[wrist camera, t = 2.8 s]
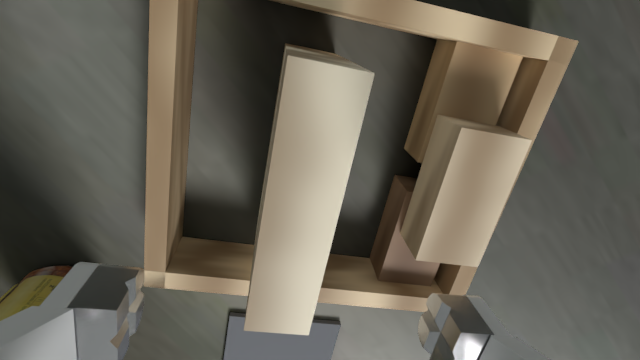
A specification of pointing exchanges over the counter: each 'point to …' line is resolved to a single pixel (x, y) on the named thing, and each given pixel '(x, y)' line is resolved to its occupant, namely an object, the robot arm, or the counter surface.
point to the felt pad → (280, 342)
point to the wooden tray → (341, 271)
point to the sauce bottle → (31, 290)
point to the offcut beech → (461, 190)
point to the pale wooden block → (304, 185)
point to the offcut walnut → (398, 241)
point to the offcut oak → (461, 89)
